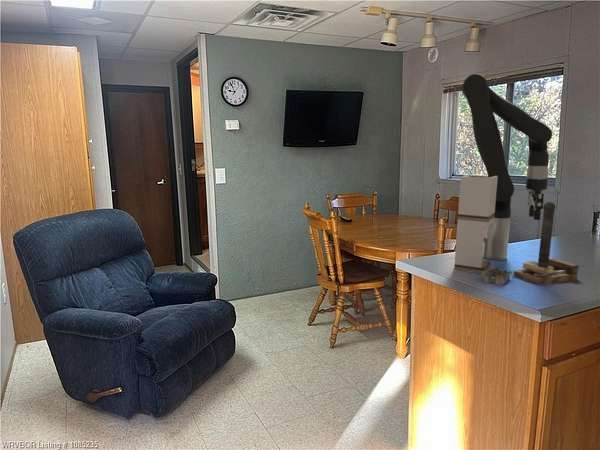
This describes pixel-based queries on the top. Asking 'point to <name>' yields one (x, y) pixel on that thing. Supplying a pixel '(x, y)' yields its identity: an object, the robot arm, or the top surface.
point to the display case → (474, 221)
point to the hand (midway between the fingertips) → (534, 218)
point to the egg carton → (496, 275)
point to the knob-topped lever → (544, 242)
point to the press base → (560, 273)
